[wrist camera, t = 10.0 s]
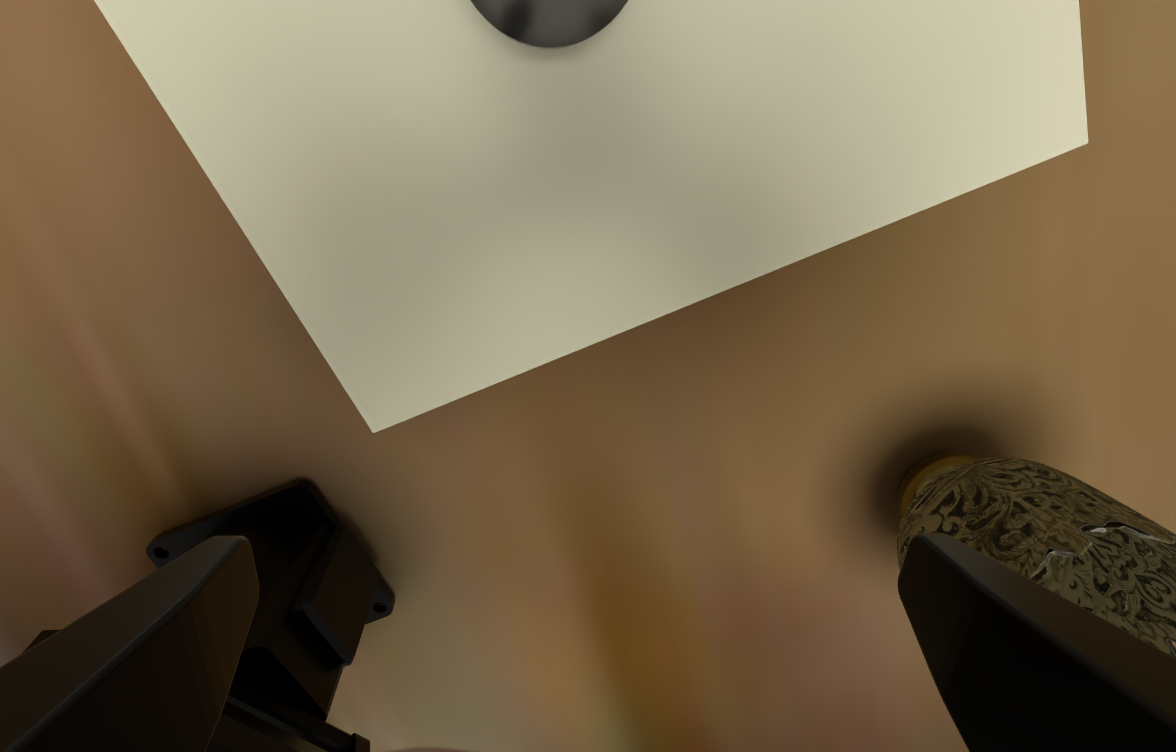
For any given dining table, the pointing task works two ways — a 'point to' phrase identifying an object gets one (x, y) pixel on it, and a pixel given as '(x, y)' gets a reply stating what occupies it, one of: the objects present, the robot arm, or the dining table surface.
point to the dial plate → (581, 156)
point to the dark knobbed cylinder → (549, 19)
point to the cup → (1050, 536)
